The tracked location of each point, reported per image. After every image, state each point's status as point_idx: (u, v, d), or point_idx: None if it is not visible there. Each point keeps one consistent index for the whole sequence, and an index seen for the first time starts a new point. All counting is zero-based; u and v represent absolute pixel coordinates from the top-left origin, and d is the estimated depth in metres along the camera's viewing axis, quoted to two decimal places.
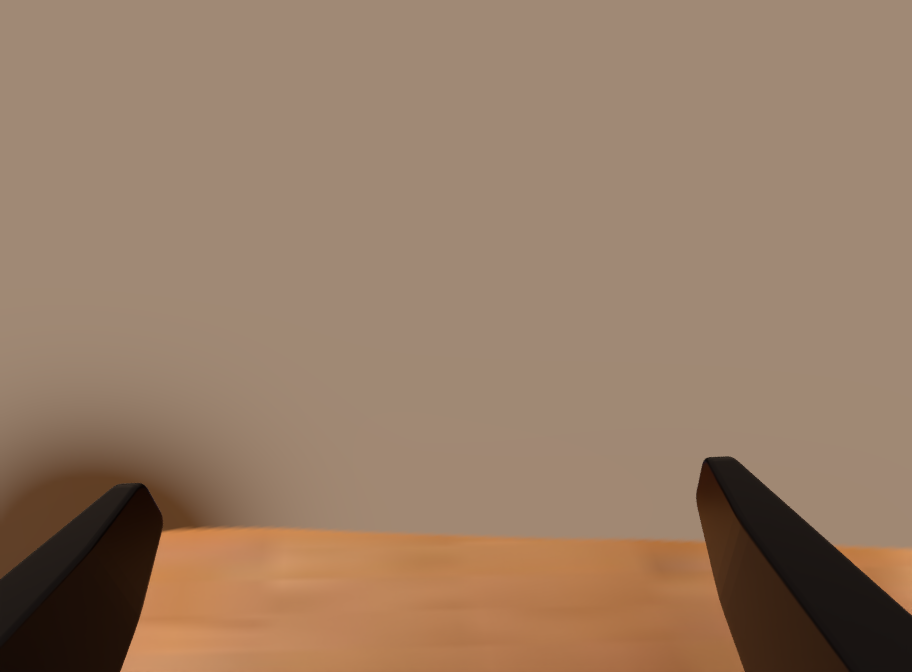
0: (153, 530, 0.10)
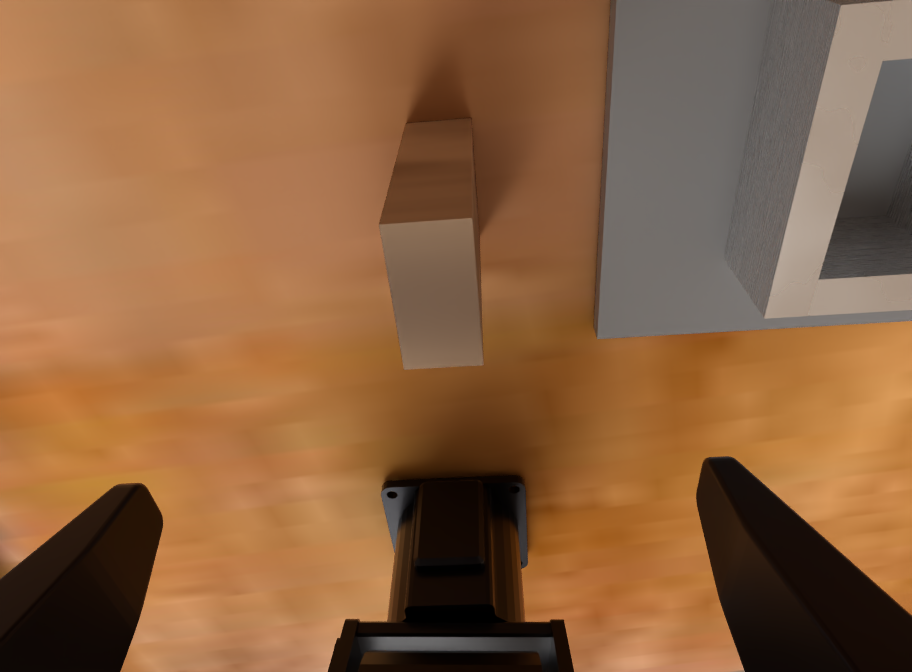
0: (153, 530, 0.10)
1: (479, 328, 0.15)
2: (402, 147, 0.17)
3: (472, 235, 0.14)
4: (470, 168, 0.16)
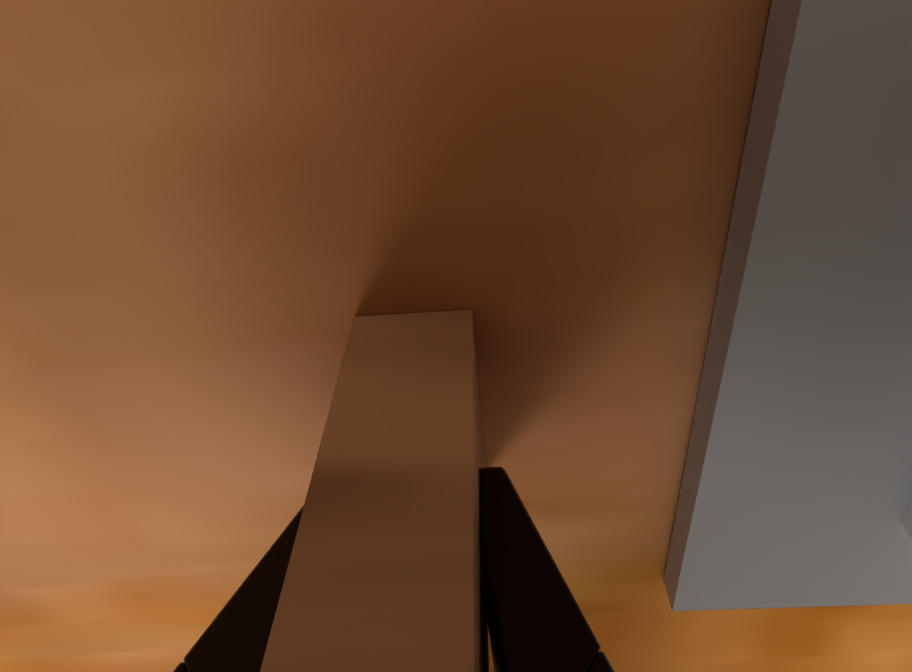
0: None
1: None
2: (337, 402, 0.09)
3: None
4: (470, 511, 0.07)
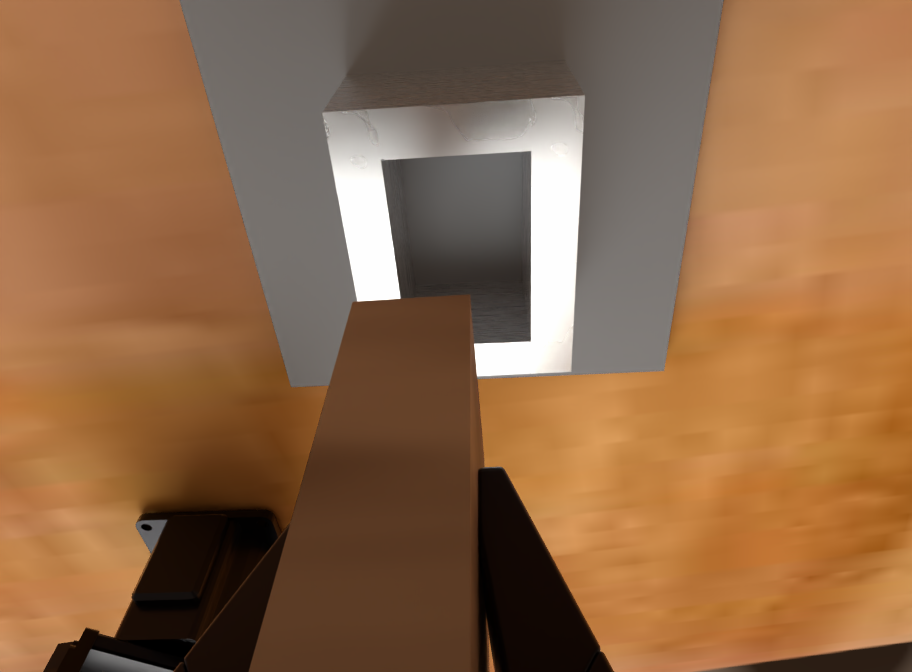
0: None
1: None
2: (335, 384, 0.09)
3: None
4: (467, 488, 0.07)
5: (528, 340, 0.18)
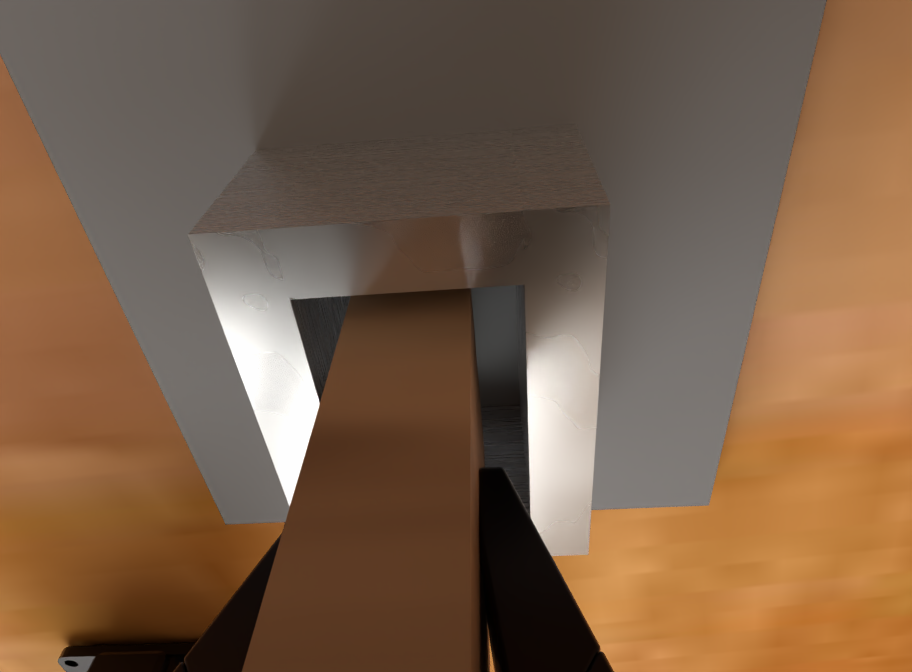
0: None
1: None
2: (336, 367, 0.09)
3: None
4: (467, 465, 0.07)
5: None
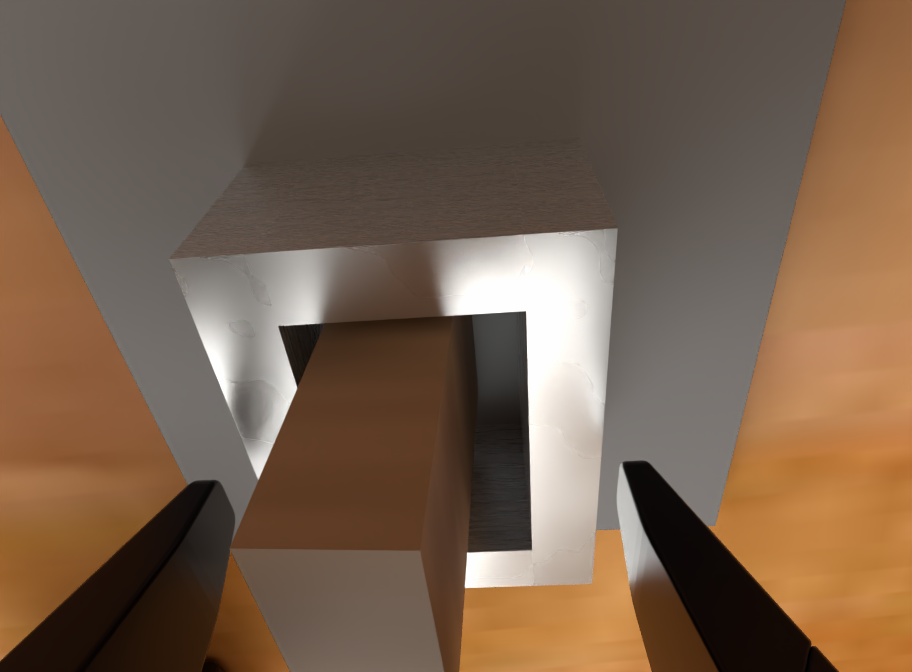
0: (227, 527, 0.10)
1: None
2: None
3: (422, 573, 0.07)
4: (442, 370, 0.09)
5: (528, 548, 0.12)
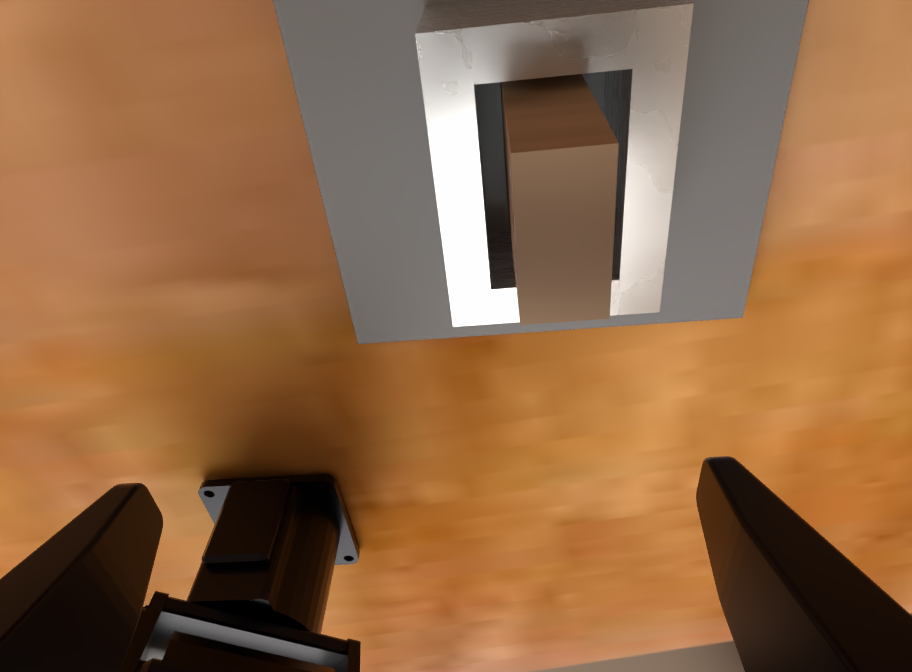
0: (153, 530, 0.10)
1: (610, 275, 0.13)
2: (505, 83, 0.16)
3: (616, 164, 0.12)
4: (593, 98, 0.14)
5: (616, 279, 0.17)
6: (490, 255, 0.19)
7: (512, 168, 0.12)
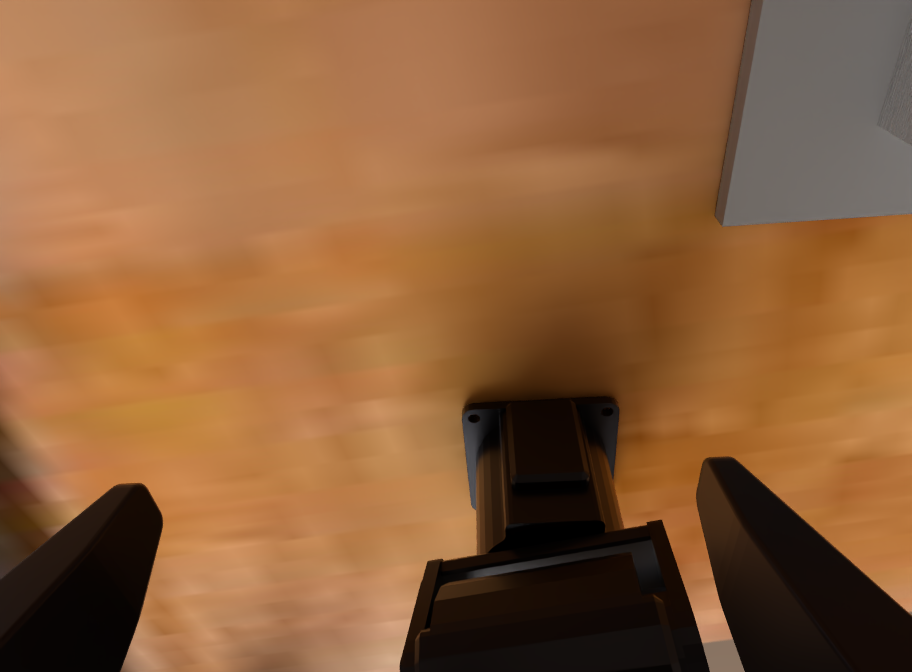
0: (153, 530, 0.10)
1: None
2: None
3: None
4: None
5: None
6: None
7: None
